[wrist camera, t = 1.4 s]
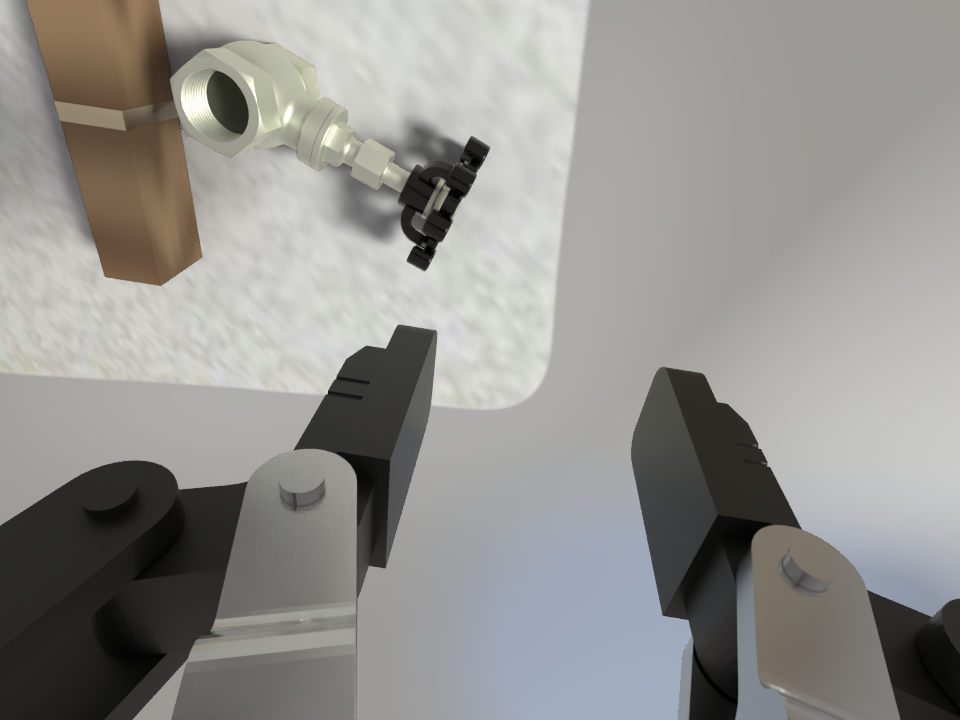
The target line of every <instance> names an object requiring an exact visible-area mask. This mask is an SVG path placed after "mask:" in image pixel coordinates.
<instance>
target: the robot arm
mask: <svg viewBox="0 0 960 720" xmlns="http://www.w3.org/2000/svg"><path fill="white" fill-rule="evenodd" d="M436 345H437V331H436V330H430V329H424V328H418V327H411V326H405V325H398V326H397V327H396V329H395V331H394V333H393V336H392V338H391V340H390V342H389V344H388V346H387V348H386V349H384V348H378V347H371V346H365V347H364V348H362V349H361V350H359V351H358V352H356V353H355V354H353V355H352V356H350V357H349V358H347V359H346V361H345V363H344V364H343V366H342V368H341V370H340V371H339V373H338V375H337V378H336V380H334V382H333V383H332V385H331V387H330V388H329V390H328V394H327V395H325V397H324V399H323V400H322V402H321V404H320V406H319V408H318V409H317V411H316V413H315V414H314V416H313V418H312V419H311V421H310V423H309V425H308V426H307V428H306V430H305V432H304V433H303V435H302V437H301V438H300V440H299V442H298V444H297V445H296V447H295V449H294V450H293V451H289V452H286V453H283V454H280V455H278V456H276V457H273V458H272V459H270V460H269V461H267V462H265V463H264V464H263V465H261V466H260V467H259V468H258V469H257V470H256V471H255V472H254V473H253V475H252V476H251V478H250V479H249V481H248V482H244V483H240V484H233V485H227V486H215V487H204V488H193V489H182V490H179V488H178V485H177V481H176V479H175V477H174V475H173V474H172V473H171V472H170V471H169V470H168V469H167V468H165V467H163V466H162V465H159V464H156V463H153V462H148V461H123V462H116V463H112V464H107V465H104V466H101V467H98V468H95V469H92V470H90V471H88V472H86V473H84V474H81V475H80V476H78V477H76V478H74V479H73V480H71V481H70V482H68V483H66V484H65V485H63V486H62V487H60V488H58V489H57V490H55V491H54V492H52V493H51V494H49V495H48V496H46V497H44V498H43V499H42V500H40V501H38V502H37V503H35V504H33V505H32V506H30V507H29V508H27V509H26V510H24V511H23V512H21V513H20V514H18V515H17V516H15V517H13V518H12V519H10V520H9V521H7V522H5V523H4V524H2V525H1V526H0V720H132V719H133V718H134V717H135V716H136V715H137V714H138V713H139V712H140V711H141V710H142V708H143V707H144V706H145V705H146V704H147V703H148V702H149V701H150V700H151V699H152V697H153V696H154V695H155V694H156V693H157V692H158V691H159V690H160V689H161V688H162V686H163V685H164V684H165V683H166V682H167V681H168V680H169V679H170V678H171V677H172V676H173V674H174V673H175V672H176V671H177V670H178V669H179V668H180V667H181V666H182V665H183V663H184V662H185V661H186V660H187V659H188V660H187V663H186V666H185V670H184V673H183V677H182V681H181V685H180V689H179V692H178V696H177V700H176V704H175V708H174V712H173V715H172V719H171V720H357V716H356V715H357V599H358V596H359V594H360V591H361V588H362V585H363V582H364V579H365V575H366V572H367V569H368V566H374V567H381V568H386V565H387V561H388V558H389V555H390V551H391V547H392V544H393V541H394V537H395V534H396V530H397V527H398V523H399V520H400V516H401V513H402V509H403V506H404V502H405V499H406V495H407V492H408V489H409V485H410V482H411V478H412V474H413V471H414V468H415V464H416V461H417V457H418V454H419V450H420V447H421V443H422V440H423V437H424V433H425V429H426V426H427V422H428V417H429V412H430V405H431V398H432V388H433V377H434V367H435V356H436ZM631 459H632V466H633V470H634V475H635V480H636V485H637V490H638V495H639V500H640V505H641V510H642V515H643V520H644V525H645V530H646V534H647V540H648V545H649V550H650V554H651V559H652V565H653V570H654V574H655V580H656V585H657V589H658V594H659V600H660V605H661V610H662V615H663V616H668V617H674V618H680V619H686V620H689V624H690V628H691V632H692V637H691V638H690V640H689V642H688V643H687V645H686V647H685V649H684V651H683V657H682V669H681V682H680V696H679V710H678V720H960V599H955V600H952V601H950V602H948V603H947V604H945V605H944V606H943V607H942V608H941V609H940V610H939V611H938V612H937V613H936V614H935V615H934V616H933V617H930V616H928V615H925V614H923V613H921V612H918V611H916V610H913V609H911V608H909V607H906V606H904V605H901V604H899V603H896V602H894V601H892V600H889V599H887V598H884V597H882V596H880V595H877V594H875V593H873V592H870V591H868V590H867V589H866V586H865V583H864V581H863V580H862V578H861V576H860V574H859V573H858V571H857V570H856V569H855V567H854V566H853V565H852V564H851V563H850V562H849V560H848V559H847V558H846V557H845V556H843V555H842V554H841V553H840V552H839V551H838V550H836V549H835V548H834V547H833V546H831V545H830V544H829V543H827V542H825V541H824V540H822V539H821V538H819V537H817V536H815V535H813V534H811V533H809V532H806V531H804V530H802V529H801V527H800V525H799V523H798V521H797V519H796V517H795V515H794V513H793V511H792V509H791V508H790V505H789V503H788V501H787V499H786V497H785V496H784V494H783V492H782V490H781V488H780V486H779V484H778V482H777V480H776V478H775V476H774V474H773V472H772V470H771V468H770V467H767V460H766V458H765V456H764V454H763V452H762V450H761V449H758V442H757V440H756V439H755V437H754V435H753V433H752V431H751V429H750V427H749V425H748V423H747V422H746V421H745V420H743V418H742V417H741V416H739V415H738V414H737V413H736V412H735V411H734V410H733V409H732V408H731V407H730V406H729V405H728V404H725V403H718V402H717V401H716V399H715V397H714V394H713V392H712V390H711V388H710V386H709V384H708V382H707V379H706V377H705V376H704V374H702V373H698V372H691V371H685V370H679V369H672V368H666V367H661V368H660V369H659V370H658V371H657V373H656V374H655V377H654V379H653V382H652V385H651V387H650V390H649V393H648V395H647V398H646V401H645V403H644V406H643V409H642V411H641V414H640V417H639V419H638V422H637V425H636V428H635V431H634V434H633V440H632V448H631Z"/></svg>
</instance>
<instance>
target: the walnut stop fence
mask: <svg viewBox="0 0 960 720" xmlns="http://www.w3.org/2000/svg"><path fill="white" fill-rule="evenodd" d="M26 1H27V4H28V8H29V11H30V15H31V19H32V22H33V26H34V29H35V33H36V36H37V40H38V43H39V47H40V50H41V54H42V57H43V61H44V64H45V68H46V71H47V75H48V78H49V82H50V85H51V89H52V93H53V96H54V100H55V101H54V103H55V106H56V110H57V113H58V117H59V120H60V121H61V124H62V128H63V131H64V135H65V138H66V142H67V145H68V149H69V152H70V156H71V159H72V163H73V167H74V170H75V174H76V177H77V181H78V184H79V188H80V191H81V195H82V198H83V202H84V205H85V209H86V212H87V216H88V219H89V223H90V226H91V230H92V233H93V237H94V240H95V244H96V248H97V251H98V255H99V258H100V262H101V265H102V269H103V272H104V276H105V277H108V278H114V279H121V280H127V281H133V282H140V283H146V284H152V285H159V286H162V285H163V284H164V283H166V282H167V281H169V280H170V279H172V278H173V277H175V276H176V275H177V274H179V273H180V272H182V271H183V270H185V269H186V268H188V267H189V266H190V265H192V264H193V263H195V262H196V261H198V260H199V259H201V258H202V253H201V247H200V241H199V235H198V229H197V223H196V218H195V212H194V206H193V200H192V194H191V188H190V183H189V177H188V171H187V165H186V159H185V153H184V148H183V142H182V136H181V130H180V124H179V118H178V117H179V115H178V112H177V109H176V106H175V102H174V98H173V94H172V89H171V83H170V78H171V72H170V66H169V60H168V54H167V48H166V43H165V37H164V31H163V25H162V19H161V13H160V8H159V2H158V0H26Z"/></svg>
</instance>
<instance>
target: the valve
mask: <svg viewBox="0 0 960 720" xmlns="http://www.w3.org/2000/svg"><path fill="white" fill-rule="evenodd" d="M170 83H171V89H172V94H173V98H174V102H175V106H176V109H177V112H178V115H179V118H180V121H181V123H182V126H183V128H184V130H185V132H186V134H188V135H189V136H191V137H192V138H194V139H195V140H197V141H198V142H200V143H202V144H203V145H205V146H207V147H209V148H211V149H213V150H215V151H217V152H219V153H221V154H223V155H225V156H227V157H230V158H234V157H236V156H238V155H241V154H243V153H245V152H247V151H249V150H251V149H252V148H256V149H267V148H273V147H277V146H280V145H282V144H285V145H287V146H289V147H291V148H293V149H294V150H296V154H297V159H298V160H299V161H300V162H302V163H304V164H306V165H308V166H309V167H311V168H313V169H315V170H317V171H321V170H323V169H324V168H325V167H326V166H327V165H328V164H331V165H333V166H334V167H338V166H340V165H342V163H346V164H347V165H349V166H351V167H352V171H351V175H350V176H352V177H354V178H356V179H357V180H359V181H361V182H363V183H364V184H366V185H368V186H370V187H371V188H373V189H375V190H376V189H379V188H380V187H381V186H382V184H383V183H384V184H386V185H388V186H390V187H392V188H393V189H395V190H397V191H399V192H400V193H401V194H400V196H399V199H398V204H399V205H401V206H403V207H404V209H403V211H402V214H401V228H402V231H403V233H404V235H405V236H406V238H407V239H408V240H410V241H411V242H412V243H414V244H416V245H418V246H420V247H422V248H424V249H422V248H420V247H418V246H414V247H413V248H412V250H411V252H410V254H409V256H408V258H407V262H408V263H410V264H412V265H413V266H415V267H417V268H419V269H421V270H423V271H426V270H427V268H428V267H429V265H430V263H431V261H432V259H433V257H434V255H435V253H436V249H435V248H436V246H437V244H438V243H439V242H442V241H443V240H444V238H445V236H446V234H447V232H448V230H449V228H450V226H451V224H452V222H453V218H454V216H455V214H456V212H457V210H458V208H459V206H460V202H461V200H462V198H465V197H466V196H467V194H468V192H469V190H470V188H471V186H472V185H473V183H474V181H475V179H476V177H477V174H476V173H477V171H478V170H479V169H480V167H481V166H482V164H483V162H484V160H485V158H486V156H487V154H488V152H489V150H490V146H488V145H486V144H485V143H483V142H482V141H480V140H478V139H477V138H475V137H473V136H471V137H470V138H469V140H468V142H467V144H466V146H465V148H464V152H463V154H462V156H461V158H460V161H461V162H462V163H464V164H463V165H461V164H460V163H458V162H457V163H456V164H455V166H453V165H451V164H449V163H447V162H443V161H433V162H430V163H428V164H427V165H426V166H425V167H424V168H423V167H422V166H420V165H418V164H417V165H416V166H415V167H414V169H413V170H412V172H411V173H410V172H408V171H406V170H404V169H403V168H401V167H399V166H398V165H396V164H394V163H393V161H394V158H395V152H393V151H391V150H390V149H388V148H386V147H385V146H383V145H381V144H379V143H378V142H376V141H374V140H373V139H371V138H369V139H368V140H366V141H365V142H364V143H362V142H360V141H358V140H357V139H355V129H354V128H352V127H350V126H349V125H347V120H348V111H347V109H345V108H344V107H342V106H340V105H339V104H337V103H335V102H334V101H332V100H330V99H328V98H322V99H321V100H320V95H319V89H318V83H317V76H316V70H315V66H314V65H312V64H311V63H309V62H308V61H306V60H304V59H302V58H301V57H299V56H297V55H296V54H294V53H292V52H291V51H289V50H287V49H286V48H284V47H282V46H281V45H279V44H277V43H271V44H263V43H260V42H256V41H246V40H241V41H234V42H231V43H228V44H225V45H223V46H221V47H220V48H211V49H203V50H202V51H201V52H199V53H198V54H197V55H195V56H194V57H193V58H192V59H190V60H189V61H188V62H187V63H186V64H184V65H183V66H182V67H181V68H180V69H179V70H178V71H177V72H176V73H175V74H174V75H173V76H172V77H171V78H170ZM442 178H443V179H442ZM445 180H446V183H444V182H445ZM430 210H431V211H430ZM429 212H430V213H429ZM415 214H417V215H419V216H421V217H422V218H424V219H426V217H427V216H428V218H427V220H426V222H425V224H424V226H423V228H422V230H421V232H422V233H423V234H422V233H420V232H418V231H417V230H415V229H414V228H413V226H412V219H413V217H414V215H415ZM428 214H429V215H428ZM424 234H425V235H426V236H425V235H424Z"/></svg>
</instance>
